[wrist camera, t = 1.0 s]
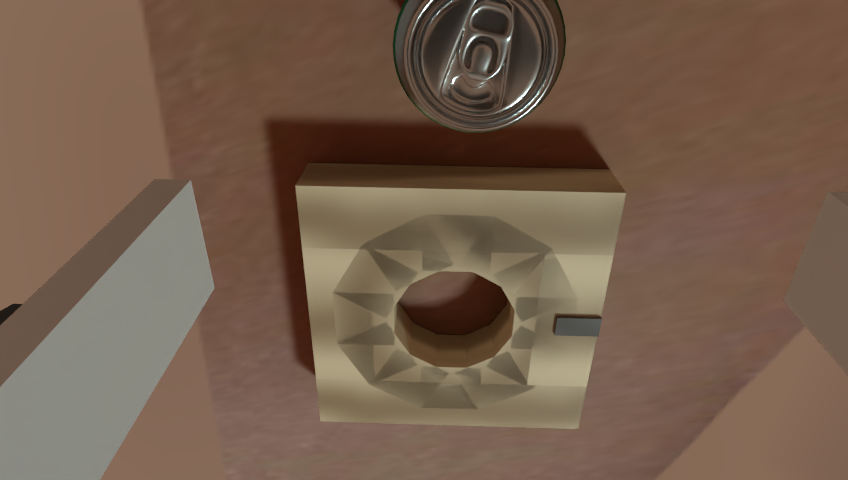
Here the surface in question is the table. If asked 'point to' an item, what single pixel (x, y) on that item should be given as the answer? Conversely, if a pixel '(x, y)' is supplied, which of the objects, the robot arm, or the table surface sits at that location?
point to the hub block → (465, 252)
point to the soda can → (478, 59)
